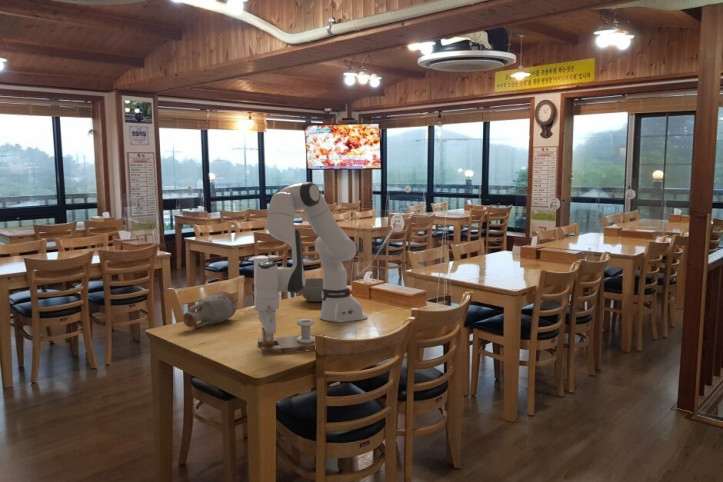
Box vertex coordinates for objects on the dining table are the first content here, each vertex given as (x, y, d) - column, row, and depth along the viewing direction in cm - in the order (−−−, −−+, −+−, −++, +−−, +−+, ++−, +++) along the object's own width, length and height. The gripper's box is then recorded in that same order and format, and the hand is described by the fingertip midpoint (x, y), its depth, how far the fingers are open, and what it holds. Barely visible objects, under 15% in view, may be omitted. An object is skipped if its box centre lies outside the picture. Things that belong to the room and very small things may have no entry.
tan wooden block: (271, 341, 227) (271, 326, 226) (273, 344, 223) (273, 329, 223) (261, 342, 226) (261, 327, 225) (263, 345, 222) (263, 330, 221)
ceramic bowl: (343, 297, 314) (343, 279, 312) (331, 307, 292) (331, 287, 290) (304, 294, 319) (304, 276, 317) (289, 304, 296) (289, 285, 295)
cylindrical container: (265, 308, 287) (265, 258, 284) (252, 307, 289) (251, 258, 285) (270, 305, 294) (270, 256, 291) (257, 304, 295) (257, 255, 292)
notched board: (316, 339, 238) (316, 334, 238) (324, 349, 225) (324, 344, 224) (257, 343, 231) (257, 339, 230) (262, 354, 217) (262, 349, 217)
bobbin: (312, 337, 234) (312, 318, 233) (316, 342, 227) (316, 322, 226) (295, 338, 231) (295, 319, 230) (298, 344, 225) (298, 324, 224)
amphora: (248, 290, 269) (197, 289, 244) (248, 325, 267) (197, 328, 242) (227, 292, 276) (175, 291, 251) (227, 326, 274) (175, 328, 249)
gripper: (280, 309, 214) (280, 345, 216) (271, 297, 233) (271, 330, 235) (262, 310, 212) (263, 347, 214) (255, 298, 231) (255, 331, 233)
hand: (267, 338), depth 224 cm, fingers closed on tan wooden block, 4 cm apart
